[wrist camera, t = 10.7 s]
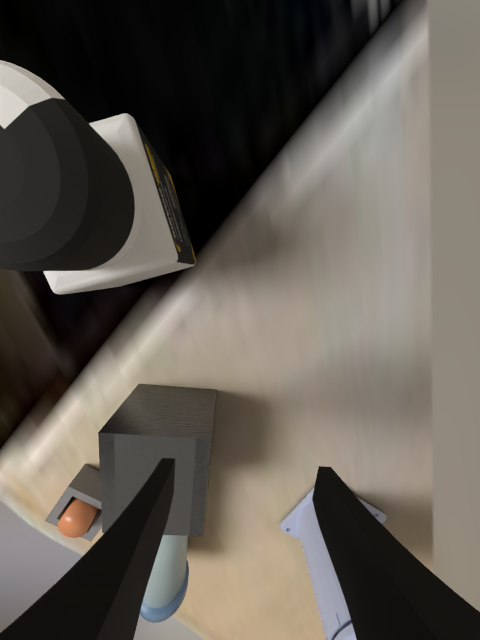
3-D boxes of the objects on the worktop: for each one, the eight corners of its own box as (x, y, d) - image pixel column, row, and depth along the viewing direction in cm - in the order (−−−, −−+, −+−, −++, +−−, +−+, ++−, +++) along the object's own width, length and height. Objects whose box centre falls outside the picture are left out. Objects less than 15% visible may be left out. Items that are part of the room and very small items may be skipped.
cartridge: (149, 437, 22) (124, 485, 17) (200, 440, 22) (191, 488, 17) (147, 553, 25) (126, 622, 20) (191, 554, 25) (182, 622, 20)
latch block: (127, 485, 23) (115, 509, 21) (104, 515, 24) (91, 541, 22) (85, 463, 22) (68, 486, 20) (63, 495, 23) (44, 520, 21)
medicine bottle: (198, 265, 19) (141, 255, 7) (117, 287, 19) (-69, 313, 7) (170, 173, 17) (39, -36, 5) (83, 198, 17) (-227, 47, 6)
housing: (138, 384, 21) (98, 432, 15) (217, 389, 21) (210, 439, 15) (138, 460, 23) (102, 532, 16) (210, 464, 23) (202, 536, 17)
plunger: (110, 490, 23) (93, 523, 20) (98, 507, 23) (79, 541, 20) (87, 479, 22) (66, 510, 20) (75, 496, 23) (52, 529, 20)
